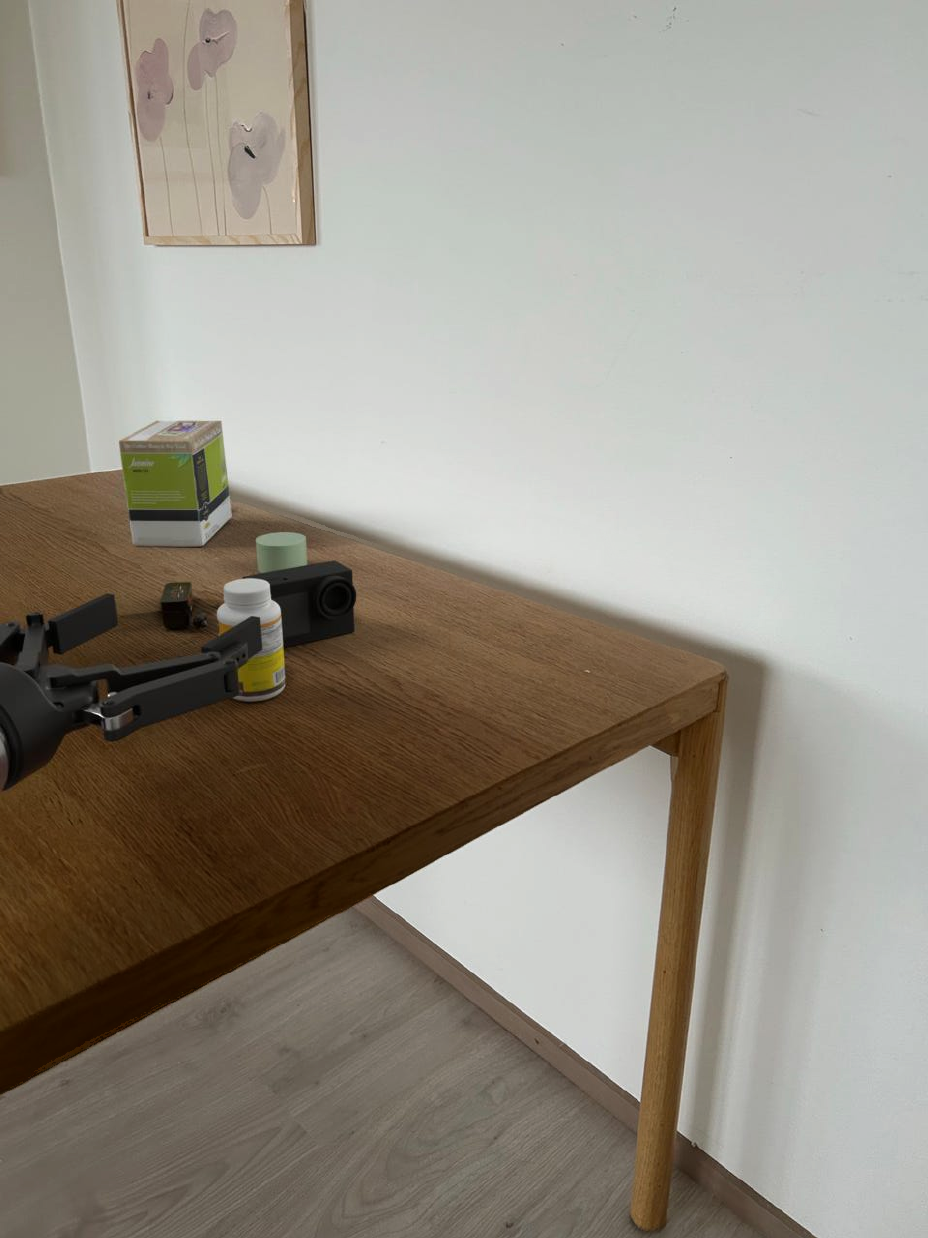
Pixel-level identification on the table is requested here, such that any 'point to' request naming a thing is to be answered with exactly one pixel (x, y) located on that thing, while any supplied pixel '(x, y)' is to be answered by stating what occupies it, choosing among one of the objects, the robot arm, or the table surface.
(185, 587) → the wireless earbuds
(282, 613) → the digital camera
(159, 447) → the tea box
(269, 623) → the supplement bottle
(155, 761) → the table surface
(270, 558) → the pale green cylinder
